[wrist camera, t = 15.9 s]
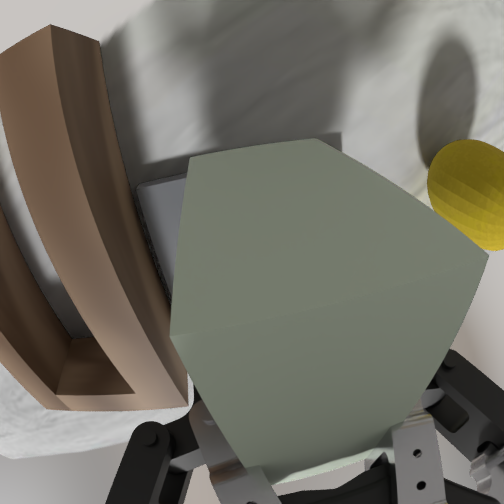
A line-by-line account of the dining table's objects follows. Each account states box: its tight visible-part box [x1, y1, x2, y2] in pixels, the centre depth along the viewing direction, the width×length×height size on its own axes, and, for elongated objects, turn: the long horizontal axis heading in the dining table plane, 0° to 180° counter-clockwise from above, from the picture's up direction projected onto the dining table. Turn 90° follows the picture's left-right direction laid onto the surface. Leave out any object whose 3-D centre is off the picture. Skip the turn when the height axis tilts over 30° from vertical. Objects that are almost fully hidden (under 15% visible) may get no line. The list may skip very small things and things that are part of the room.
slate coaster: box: [136, 173, 187, 297], centre depth 16 cm, size 10×10×1 cm
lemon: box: [427, 139, 504, 251], centre depth 12 cm, size 6×6×8 cm
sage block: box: [170, 138, 489, 485], centre depth 8 cm, size 4×8×7 cm, turn 7°
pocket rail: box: [0, 24, 188, 411], centre depth 12 cm, size 11×19×5 cm, turn 7°
